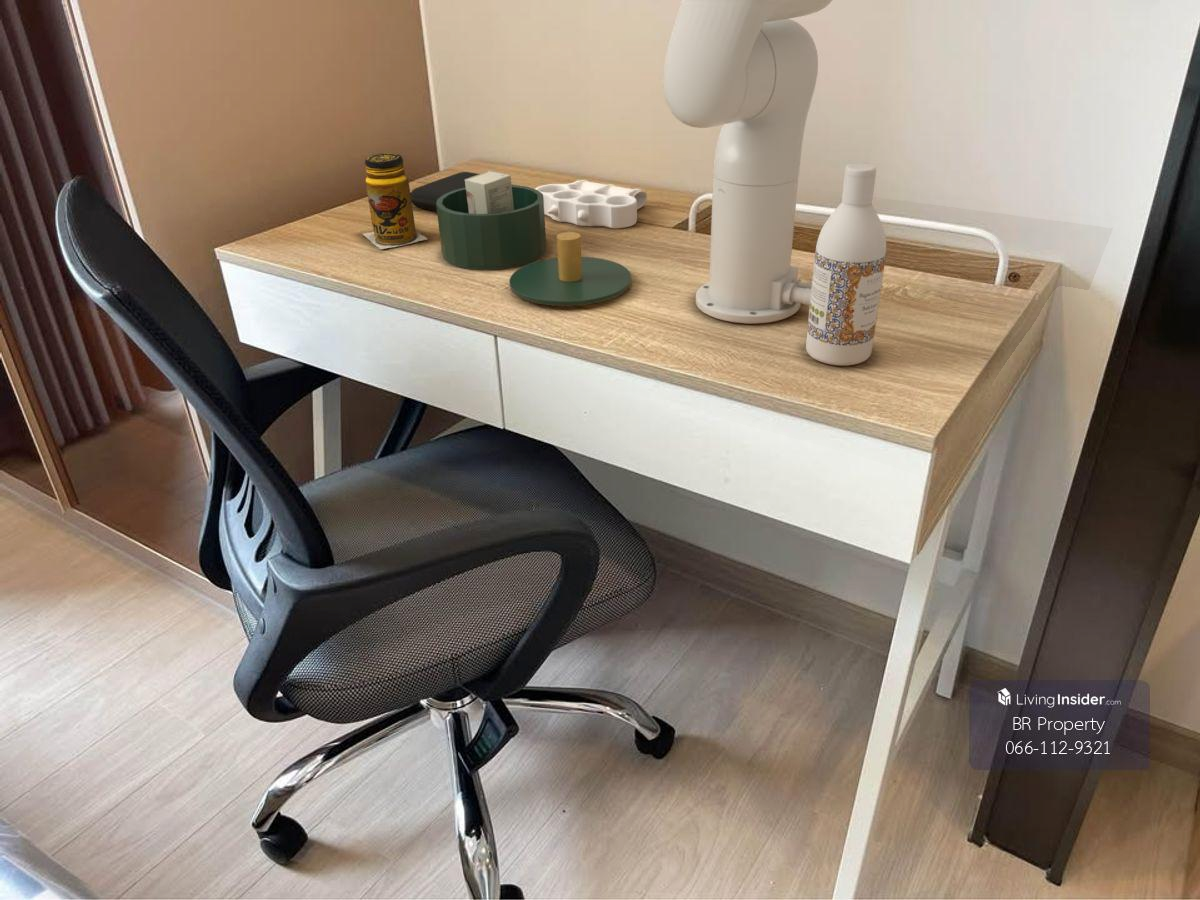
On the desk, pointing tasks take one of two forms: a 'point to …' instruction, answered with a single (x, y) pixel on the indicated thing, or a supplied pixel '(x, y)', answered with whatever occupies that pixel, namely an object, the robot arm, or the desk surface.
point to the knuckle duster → (592, 203)
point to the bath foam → (847, 275)
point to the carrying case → (438, 190)
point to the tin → (492, 231)
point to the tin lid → (570, 277)
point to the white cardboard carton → (489, 193)
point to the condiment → (389, 202)
